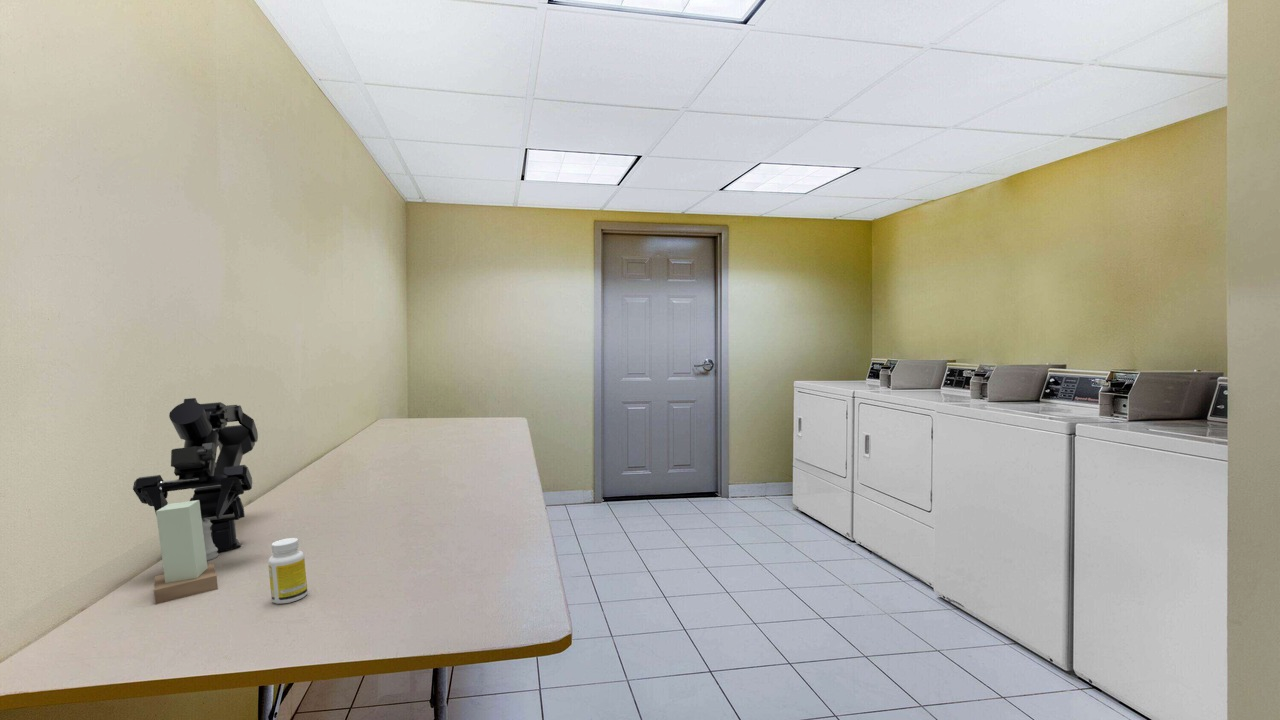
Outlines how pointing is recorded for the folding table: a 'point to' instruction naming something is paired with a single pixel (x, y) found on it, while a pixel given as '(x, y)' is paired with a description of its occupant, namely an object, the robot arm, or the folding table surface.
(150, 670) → the folding table surface
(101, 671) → the folding table surface
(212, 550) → the rook chess piece
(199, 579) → the walnut block
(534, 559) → the folding table surface
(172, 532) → the sage post
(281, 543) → the supplement bottle
